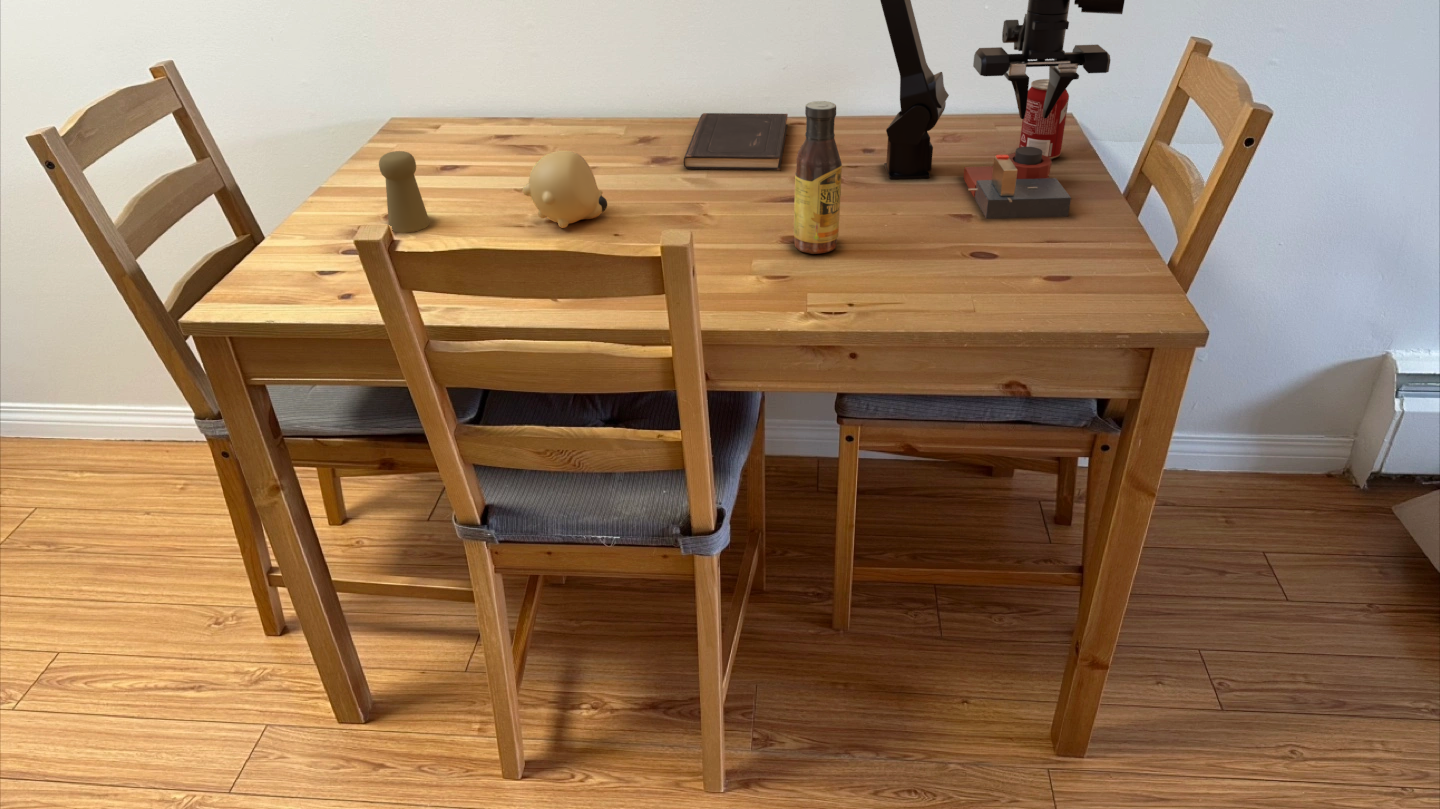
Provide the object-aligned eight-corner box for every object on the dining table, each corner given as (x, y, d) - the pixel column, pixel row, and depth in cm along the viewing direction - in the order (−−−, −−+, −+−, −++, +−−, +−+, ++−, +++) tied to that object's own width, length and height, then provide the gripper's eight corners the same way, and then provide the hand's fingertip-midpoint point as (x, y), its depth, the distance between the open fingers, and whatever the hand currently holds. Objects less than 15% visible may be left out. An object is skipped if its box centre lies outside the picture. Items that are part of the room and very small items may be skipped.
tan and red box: (1014, 196, 154) (1017, 168, 152) (1000, 196, 154) (1003, 168, 152) (1004, 181, 159) (1008, 154, 157) (991, 181, 159) (994, 154, 157)
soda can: (1050, 165, 172) (1061, 92, 166) (1011, 158, 176) (1020, 85, 169) (1066, 154, 177) (1077, 81, 170) (1028, 146, 180) (1037, 75, 174)
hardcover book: (787, 126, 193) (787, 113, 192) (779, 170, 174) (780, 156, 173) (700, 125, 195) (700, 113, 194) (683, 169, 176) (683, 155, 174)
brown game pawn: (393, 236, 155) (378, 163, 149) (384, 222, 160) (369, 151, 154) (434, 227, 158) (421, 155, 152) (424, 214, 162) (411, 144, 156)
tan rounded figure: (591, 250, 158) (630, 191, 158) (540, 209, 148) (582, 147, 149) (553, 230, 164) (591, 173, 164) (502, 189, 154) (542, 129, 155)
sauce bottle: (825, 259, 144) (829, 115, 134) (785, 250, 147) (786, 108, 137) (846, 242, 149) (852, 102, 138) (807, 234, 152) (810, 95, 141)
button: (1017, 166, 162) (1019, 155, 161) (1011, 157, 166) (1012, 146, 165) (1043, 165, 162) (1045, 154, 161) (1037, 157, 166) (1038, 146, 165)
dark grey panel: (973, 222, 154) (975, 202, 152) (959, 196, 162) (961, 176, 161) (1070, 219, 154) (1073, 199, 152) (1051, 194, 162) (1054, 174, 160)
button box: (973, 197, 162) (976, 172, 160) (962, 178, 169) (965, 153, 167) (1055, 195, 162) (1059, 170, 160) (1040, 175, 169) (1044, 151, 167)
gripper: (1095, -4, 159) (1079, 100, 167) (971, 0, 159) (961, 104, 167) (1119, 13, 149) (1101, 122, 158) (987, 17, 149) (975, 126, 158)
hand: (1033, 118), depth 160 cm, fingers open, 3 cm apart
